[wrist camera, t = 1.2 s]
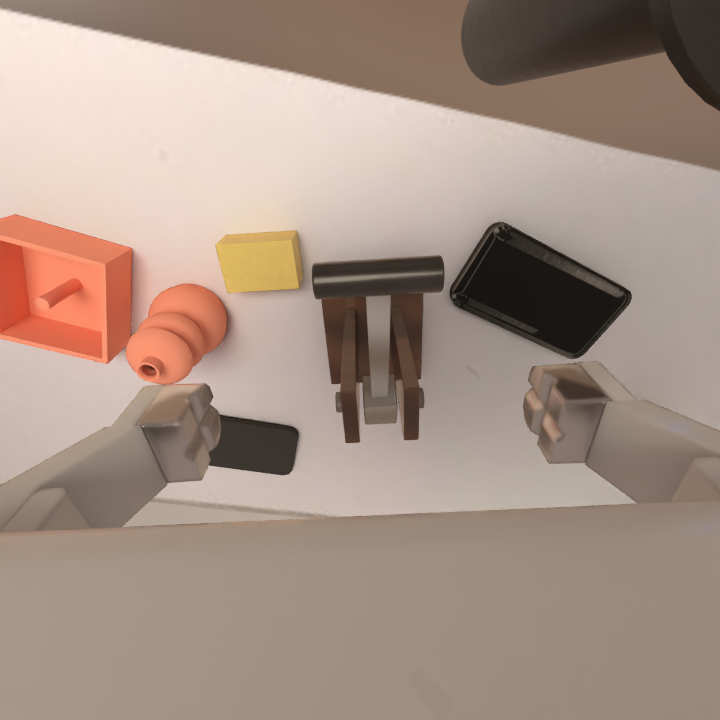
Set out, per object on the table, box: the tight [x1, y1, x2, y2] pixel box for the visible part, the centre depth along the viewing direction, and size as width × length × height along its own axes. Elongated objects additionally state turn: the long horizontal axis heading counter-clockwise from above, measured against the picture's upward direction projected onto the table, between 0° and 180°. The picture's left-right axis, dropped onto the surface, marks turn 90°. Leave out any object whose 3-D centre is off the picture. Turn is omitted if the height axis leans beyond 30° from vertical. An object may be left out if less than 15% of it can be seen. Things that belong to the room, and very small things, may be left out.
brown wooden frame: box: [321, 293, 424, 443], centre depth 31 cm, size 12×9×14 cm
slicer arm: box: [312, 255, 444, 425], centre depth 22 cm, size 14×6×2 cm, turn 4°
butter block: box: [215, 231, 303, 293], centre depth 33 cm, size 4×6×3 cm, turn 94°
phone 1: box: [209, 416, 298, 475], centre depth 45 cm, size 7×1×15 cm
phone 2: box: [450, 222, 632, 359], centre depth 35 cm, size 8×1×15 cm
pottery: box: [0, 215, 227, 385], centre depth 32 cm, size 18×10×10 cm, turn 72°
